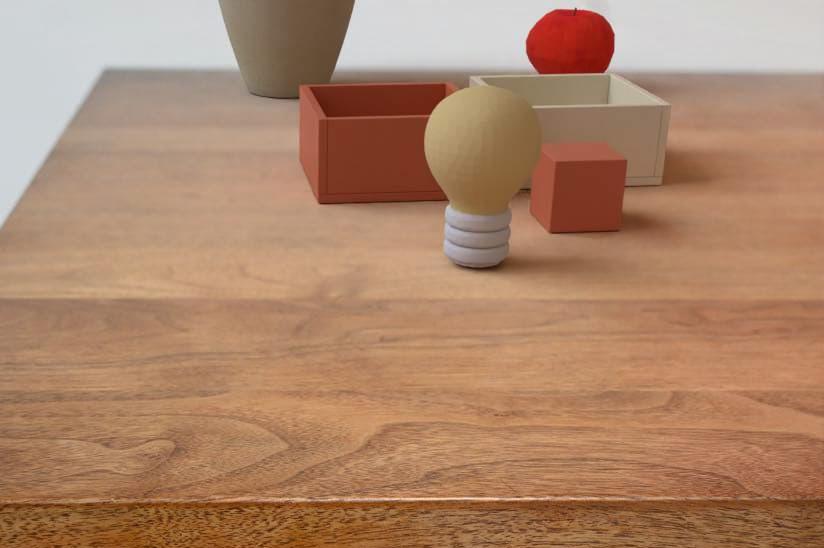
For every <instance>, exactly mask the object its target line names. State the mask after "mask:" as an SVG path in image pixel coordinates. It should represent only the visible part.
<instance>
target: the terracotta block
mask: <svg viewBox="0 0 824 548" xmlns="http://www.w3.org/2000/svg"><path fill="white" fill-rule="evenodd" d="M627 162H628V160H627V159H626V158H625V157H623V156H622V155H621V154H619V153H618V152H617V151H615V150H614V149H612V148H611V147H610V146H608V145H607V144H606V143H604V142H571V143H542V147H541V153H540V157H539V160H538V163H537V165H536V167H535V170H534V171H533V173H532V183H531V189H530V197H529V207H528V208H529V210H528V211H529V213H530V214H531V215H532V216H533V217H534V218H535V219H536V220H537V221H538V222H539V224H540V225H541V226H543V228H544V229H545V230H546V231H547V232H548V233H550V234H553V233H580V232H581V233H584V232H586V233H587V232H614V231H617V232H618V231H620V230H621V226H622V225H621V224H622V216H623V207H624V206H623V205H624V195H625V187H626V186H625V180H626V171H627Z"/></svg>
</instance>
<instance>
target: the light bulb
mask: <svg viewBox="0 0 824 548" xmlns="http://www.w3.org/2000/svg"><path fill="white" fill-rule="evenodd" d="M424 147H425V155H426V160H427V163H428V165H429V168H430V170H431V172H432V174H433V176H434V178H435V179H436V181H437V183H438V184H439V185H440V187H441V188H442V190H443V191H444V193H445V194H446V196H447V197H448V199H449V200H448V202H449V204H448V205H447V206H446V207H445V211H444V220H445V224H444V227H443V235H444V238H445V239H444V241H443V248H442V250H443V254H444V255H445V256H446V257H447V258H448V259H449V260H450V261H451V262H453V263H454V264H456V265H459V266H462V267H466V268H467V267H468V268H474V269H475V268H478V269H479V268H489V267H495V266H496V265H499V264H500V263H501V262H502V261H504V260H505V259H507V258H508V256H509V253H510V243H509V240H510V238H511V232H512V231H511V226H510V224H511V223H512V218H513V213H512V209H511V208H510V207H509V204H510V202H511V201H512V200H513V198H514V197H515V196H516V195H517V194H518V193H519V192H520V191H521V190H522V189H521V188H522V187H523V185H524V184H525V183H526V182H527V180H528V179H529V178H530V176H531V175H532V173H533V171H534V170H535V167H536V165H537V163H538V160H539V157H540V153H541V147H542V131H541V126H540V122H539V119H538V116H537V114H536V111H535V110H534V108H533V107H532V106H531V104H530V103H529V102H527V101H526V100H525V99H524V98H522V97H521V96H519V95H518V94H516V93H514V92H512V91H510V90H506V89H503V88H500V87H496V86H473V87H465V88H462V89H460V90H459V91H457V92H455V93H453V94H451V95H450V96H448V97H446V98H445V99H443V100H442V101H441V102H440V103H439V104H438V105H437V106H436V108H435V109H434V110H433V112H432V114H431V116H430V118H429V120H428V123H427V126H426V131H425V139H424Z"/></svg>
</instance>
